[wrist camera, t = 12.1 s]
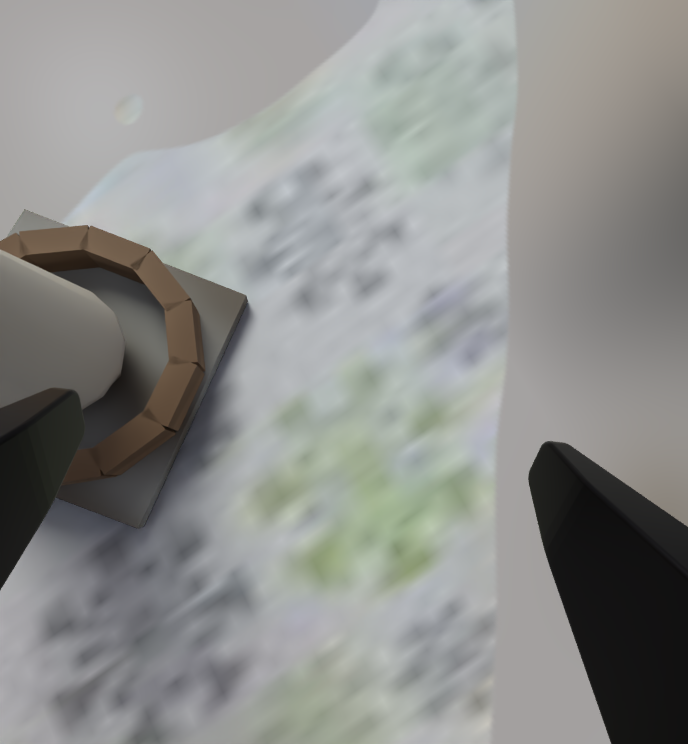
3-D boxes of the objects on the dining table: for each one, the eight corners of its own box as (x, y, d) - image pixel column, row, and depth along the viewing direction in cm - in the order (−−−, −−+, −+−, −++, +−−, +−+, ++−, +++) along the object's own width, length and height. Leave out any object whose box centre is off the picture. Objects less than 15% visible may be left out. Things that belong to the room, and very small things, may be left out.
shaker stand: (143, 526, 21) (122, 533, 18) (-103, 433, 20) (-159, 426, 18) (247, 301, 24) (242, 280, 21) (33, 218, 23) (1, 186, 21)
